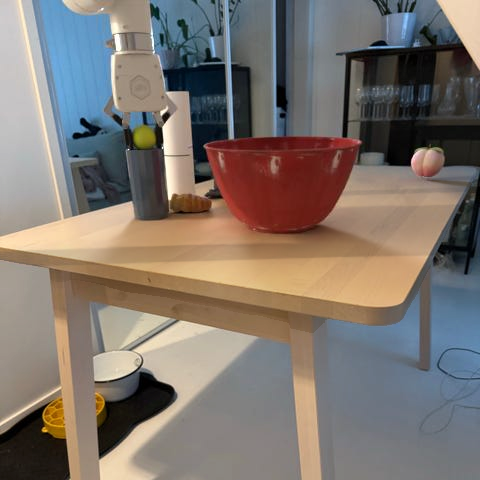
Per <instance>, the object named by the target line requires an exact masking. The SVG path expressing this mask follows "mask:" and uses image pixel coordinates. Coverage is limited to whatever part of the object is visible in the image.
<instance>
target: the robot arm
mask: <svg viewBox="0 0 480 480" xmlns="http://www.w3.org/2000/svg"><path fill="white" fill-rule="evenodd" d="M61 1H62V3H63V4H64V5H65V6H66V7H67V9H69V10H70V11H72V12H73V13H75V14H77V15H81V16H93V15H104V14H105V15H106V14H107V15H108V16H109V22H110V30H111V38H109V39H105V40H104V46H105V49H110V50H112V51H113V54H111V55H110V76H111V77H110V83H111V95H110V97H109V98H108V99H107V102H106V103H105V104H104V106H103V109H102V112H103V113H104V114H105V115H106V116H107V117H108V118H110V119H112V120H113V121H114V122H115V123H116V124H117V125H119V127H121V128H122V131H123V138H124V146H126V147H128V148H127V149H129V150H133V149H134V148H135V146H134V144H133V138H132V132H133V130H132V128H131V126H130V120H131V119H130V118H131V113H148V112H149V113H150V112H151V115H152V118H153V120H154V127H153V131H154V132H155V134H156V143H155V147H157V148H163V146H162V145H163V144H164V139H163V128H162V127H163V126H164V124H165V123H166V122H167V120H168V119H169V118H170V116H171V115H173V114H174V113H175V111H176V110H177V106H176V105H175V104H174V103H173V101H172V100H171V99H170V98H169V97H168V95H167V94H166V92H167V91H166V90H167V89H166V83H165V77H164V71H163V67H162V62H161V58H160V55H159V54H155V49H154V48H155V47H154V46H155V45H154V36H153V24H152V14H151V5H150V4H151V3H150V0H61ZM167 106H168V109H167V110H166V112H165V113H163V115H162V116H161V112H160V111H162V110H164V109H166V107H167ZM113 107H114V109H115V110H116V111H117V112H119V113H121V116H119V114H118V113H116V112H115V111H113Z"/></svg>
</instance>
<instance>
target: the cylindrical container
mask: <svg viewBox="0 0 480 480" xmlns="http://www.w3.org/2000/svg"><path fill="white" fill-rule="evenodd" d="M189 93H190V92H189V91H187V90H186V91H185V90H184V91H183V90H182V91H166V94H167V95H168V97H169V98H170V99H171V100H172V101H173V103H174V104H175V105H176V106H177V110H176V111H175V113H174V114H173V115H171V116H170V118H169V119H168V120H167V122H166V123H165V124H164V126H163V127H162V128H163V139H164V144H162V145H163V148H164V157H165V168H166V179H167V190H168V201H171V197H172V194H174V193H176V194H178V195H181V194H189V193H190V194H192V195H197V193H196V181H195V179H196V178H195V165H194V150H193V138H192V137H193V135H192V120H191V106H190V94H189ZM167 109H168V106H167V107H166V109H164V110H162V111H160V114H161V116H162V115H163V113H165V112H166V110H167Z"/></svg>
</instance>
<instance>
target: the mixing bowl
mask: <svg viewBox="0 0 480 480" xmlns="http://www.w3.org/2000/svg"><path fill="white" fill-rule="evenodd" d="M362 144H363V141H362V140H360V139H356V138H349V137H339V136H338V137H336V136H313V135H312V136H311V135H309V136H308V135H307V136H305V135H304V136H302V135H301V136H299V135H298V136H297V135H295V136H292V135H291V136H260V137H259V136H258V137H244V138H241V137H240V138H231V139H230V138H229V139H224V140H223V139H222V140H216V141H211V142H207V143H205V144H204V145H203V148H204V149H205V151H206V155H207V159H208V163H209V165H210V168H211V171H212V174H213V179H214V178H215V180H216V183H217V185H218V188H219V190H220V192H221V194H222V196H223V197H222V196H221V197H222V198H223V200H224V202H225V204H226V206H227V208H228V209H229V211H230V212H231V214H232V216H233V217H234V218H235V219H236V220H237V221H239V222H240V223H241V224H243V225H245V226H246V227H247V228H248V229H250V230H253V231H254V232H255V231H256V232H259V233H260V232H261V233H268V234H292V233H293V234H294V233H301V232H305V231H308V230H311V229H313V228H315V227H316V226H317V225H319V224H320V223H322V222H324V220H325V219H327V218H328V217H329V216H330V214H331V213H332V211H333V210H334V209H335V208H336V205H337V204H338V202H339V200H340V198H341V197H342V194H343V192H344V190H345V188H346V186H347V184H348V182H349V179H350V176H351V174H352V171H353V168H354V166H355V163H356V160H357V156H358V153H359V149H360V146H361V145H362Z"/></svg>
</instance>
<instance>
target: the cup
mask: <svg viewBox="0 0 480 480" xmlns="http://www.w3.org/2000/svg"><path fill="white" fill-rule="evenodd" d="M125 155H126V162H127V170H128V171H127V172H128V178H129V186H130V194H131V195H130V196H131V202H132V210H133V211H132V212H133V216H134V219H135V220H139V221H157V220H163V219H167V218H169V217H170V211H171V210H170V202H169V201H170V200H169V199H168V188H167V177H166V166H165V155H164V147H162V148H157V147H156V146H154V147H153V148H152V149H151V150H139V149H137V148H136V147H134V149H133V150H129V148H127V149H125Z"/></svg>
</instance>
